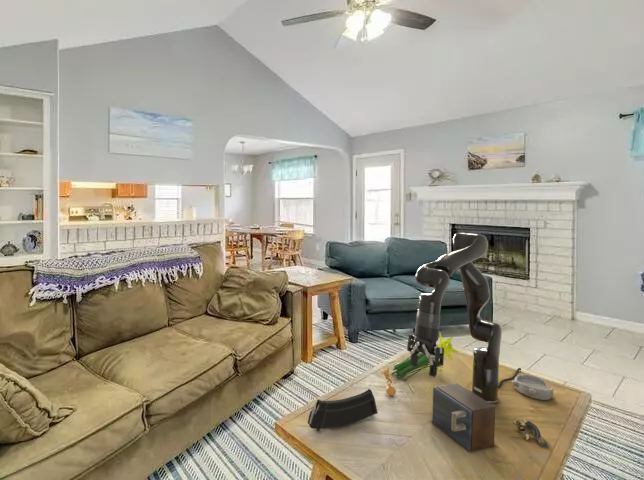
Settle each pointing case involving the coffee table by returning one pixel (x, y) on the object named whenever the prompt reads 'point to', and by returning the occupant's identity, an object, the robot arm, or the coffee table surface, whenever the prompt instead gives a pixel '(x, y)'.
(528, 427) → the animal figure
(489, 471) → the coffee table surface
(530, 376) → the dish
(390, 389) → the figurine
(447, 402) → the cupboard door
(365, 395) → the magazine
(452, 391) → the cupboard
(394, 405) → the coffee table surface
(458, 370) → the coffee table surface
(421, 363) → the daffodil flowers
